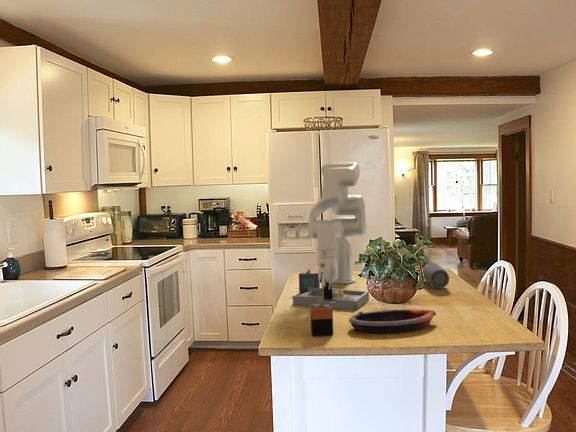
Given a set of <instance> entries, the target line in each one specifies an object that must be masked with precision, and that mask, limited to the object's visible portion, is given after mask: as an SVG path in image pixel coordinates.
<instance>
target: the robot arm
mask: <svg viewBox="0 0 576 432" xmlns="http://www.w3.org/2000/svg"><path fill="white" fill-rule="evenodd" d="M360 169H361V168H360V166H359V164H358V163H357V162H354V161H353V162H352V161H351V162H349V161H347V162H329V163H324V164H323V165H322V166H321V175H322V190H321V198H320V199H319V200H318V201H317V202H316V204H314V206H313V207H312V208H311V210H310V213H309V216H308V229H307V230H308V231H307V232H308V235H309V236H310V238H312V239H314V240H315V239H316V243H317V244H316V245H317V246H316V247H317V249H316V251H317V258H318V265H317V266H318V269H317V273H318V278H319V282H320V284H321V286H320V287H321V288H323V291H324V299H327V300H331V299H332V298H333V295H332V288H334V287H333V284H338V285H345V284H346V285H347V284H352V283H355V282H356V278H355V277H353V257H352V255H353V254H352V249H353V248H352V244H351V242H350V241H349V240H348V239H347V238H349V237H363V236H364V235H366V232H367V222H366V221H367V220H366V219H367V218H366V204H365V200H364V199H365V198H364V197H363V196H362V195H359V194H349V187H356V185H357V184H358V182H359V178H360V175H361V170H360ZM330 209H331V213H332V214H334V215H336V216H335V217H333V218H331V219H329V220H323V219H321V220H320V219H319V220H317V219H318V217H320V215H321V214H322V213H324V212H326V211H328V210H330Z"/></svg>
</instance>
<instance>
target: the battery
mask: <svg viewBox="0 0 576 432" xmlns="http://www.w3.org/2000/svg"><path fill="white" fill-rule="evenodd" d="M309 307H310V309H309V310H310V333H311V335H312V337H327V336H330V337H331V336H333V335H334V317H333V309H334V308H332V307H331V306H330V305H329V304H324V305H322V306H320V305H319V304H313V306H309Z"/></svg>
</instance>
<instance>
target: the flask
mask: <svg viewBox="0 0 576 432" xmlns="http://www.w3.org/2000/svg"><path fill="white" fill-rule="evenodd" d="M311 269H312V268H311ZM311 269H307V271H302V272H299V273H298V289H299V294H300V295H302V294H304V293H306V292H307V291H308V287H311V288H321V286H320V284H321V283H320V282H319V278H318V272H311Z"/></svg>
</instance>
